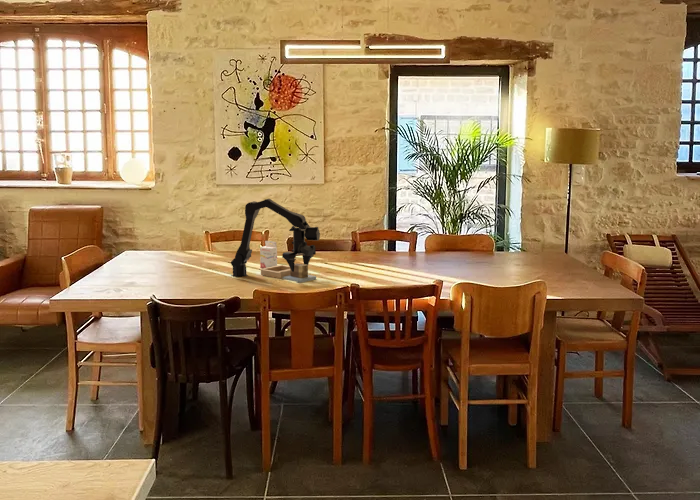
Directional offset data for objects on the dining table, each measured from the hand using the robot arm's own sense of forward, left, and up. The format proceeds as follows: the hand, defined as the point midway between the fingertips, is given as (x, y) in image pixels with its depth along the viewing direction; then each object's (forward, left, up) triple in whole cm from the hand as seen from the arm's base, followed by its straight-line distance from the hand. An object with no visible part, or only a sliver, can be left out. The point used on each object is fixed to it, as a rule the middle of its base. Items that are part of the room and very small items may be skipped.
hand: (299, 270), depth 380 cm
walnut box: (0, 0, -3) cm, 3 cm away
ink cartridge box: (+11, +35, -5) cm, 37 cm away
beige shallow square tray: (+1, +15, -5) cm, 16 cm away
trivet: (0, 0, -5) cm, 5 cm away
